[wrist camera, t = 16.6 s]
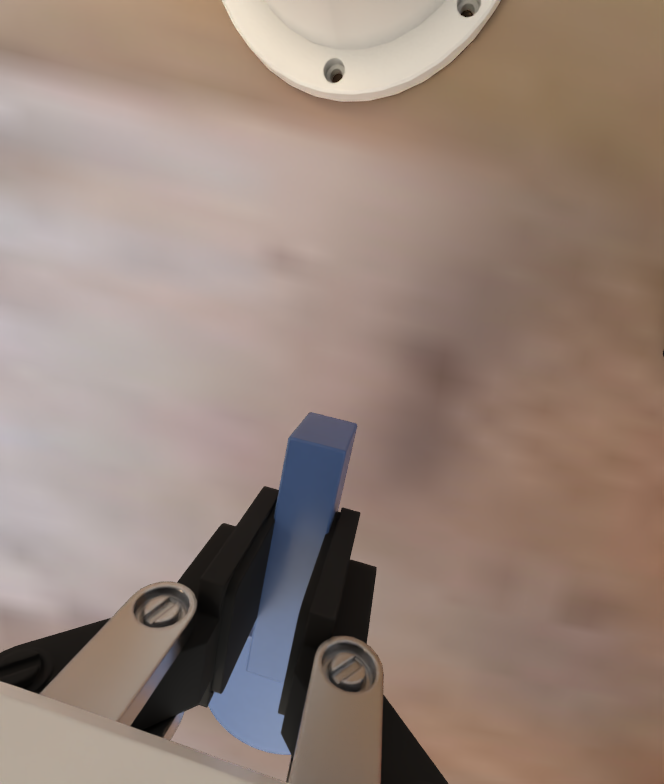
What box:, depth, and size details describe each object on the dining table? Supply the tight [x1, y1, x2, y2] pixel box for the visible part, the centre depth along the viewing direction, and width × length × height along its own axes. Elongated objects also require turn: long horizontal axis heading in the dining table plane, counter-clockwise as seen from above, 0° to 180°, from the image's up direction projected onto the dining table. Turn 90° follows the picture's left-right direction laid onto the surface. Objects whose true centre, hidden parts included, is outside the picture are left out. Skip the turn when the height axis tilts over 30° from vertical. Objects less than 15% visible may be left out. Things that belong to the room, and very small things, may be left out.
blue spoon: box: [208, 412, 357, 755], centre depth 13 cm, size 11×4×2 cm, turn 169°
